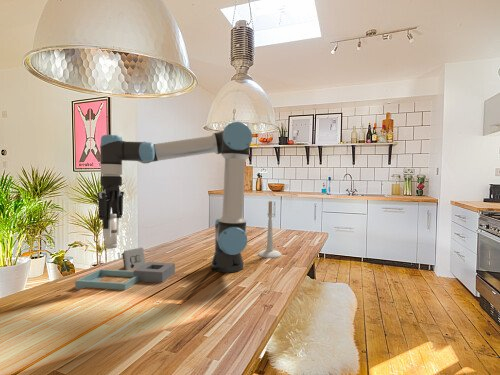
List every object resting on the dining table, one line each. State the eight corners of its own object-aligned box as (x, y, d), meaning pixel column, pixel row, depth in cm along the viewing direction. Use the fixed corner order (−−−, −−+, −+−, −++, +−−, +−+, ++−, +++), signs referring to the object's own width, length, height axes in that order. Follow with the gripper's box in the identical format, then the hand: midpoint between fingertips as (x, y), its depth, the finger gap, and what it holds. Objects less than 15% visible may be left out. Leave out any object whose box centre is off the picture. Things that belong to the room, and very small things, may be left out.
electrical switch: (127, 272, 125) (126, 251, 126) (121, 271, 129) (120, 250, 129) (146, 267, 133) (145, 247, 133) (140, 266, 136) (139, 246, 136)
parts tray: (144, 279, 117) (144, 271, 117) (125, 292, 103) (125, 283, 103) (100, 276, 120) (100, 269, 120) (75, 289, 106) (75, 280, 106)
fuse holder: (175, 274, 123) (175, 263, 123) (162, 285, 111) (162, 272, 111) (148, 273, 124) (148, 261, 124) (133, 283, 112) (133, 270, 112)
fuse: (119, 246, 113) (119, 213, 112) (112, 248, 109) (112, 214, 108) (109, 246, 113) (109, 213, 113) (102, 248, 109) (102, 214, 109)
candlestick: (279, 252, 163) (280, 199, 163) (283, 258, 151) (283, 201, 150) (257, 252, 163) (258, 199, 162) (258, 258, 150) (259, 201, 149)
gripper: (115, 175, 119) (115, 231, 120) (86, 175, 102) (86, 239, 103) (132, 176, 118) (132, 232, 119) (106, 175, 101) (106, 240, 102)
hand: (111, 235), depth 111 cm, fingers closed on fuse, 4 cm apart
